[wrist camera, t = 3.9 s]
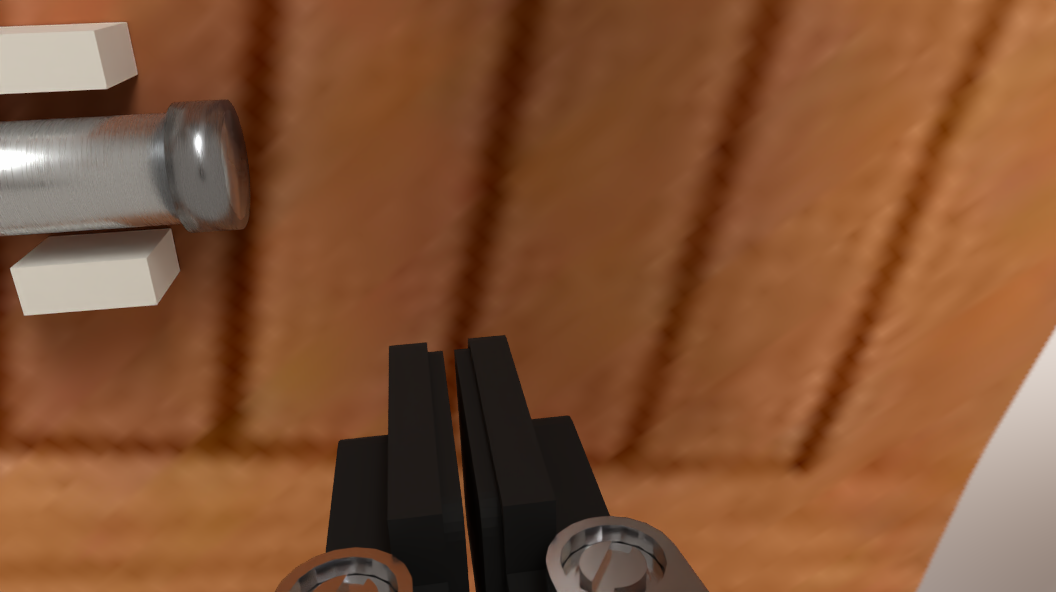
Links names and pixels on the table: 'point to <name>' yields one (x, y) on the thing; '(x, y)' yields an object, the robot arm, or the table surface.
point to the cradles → (87, 259)
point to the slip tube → (125, 171)
